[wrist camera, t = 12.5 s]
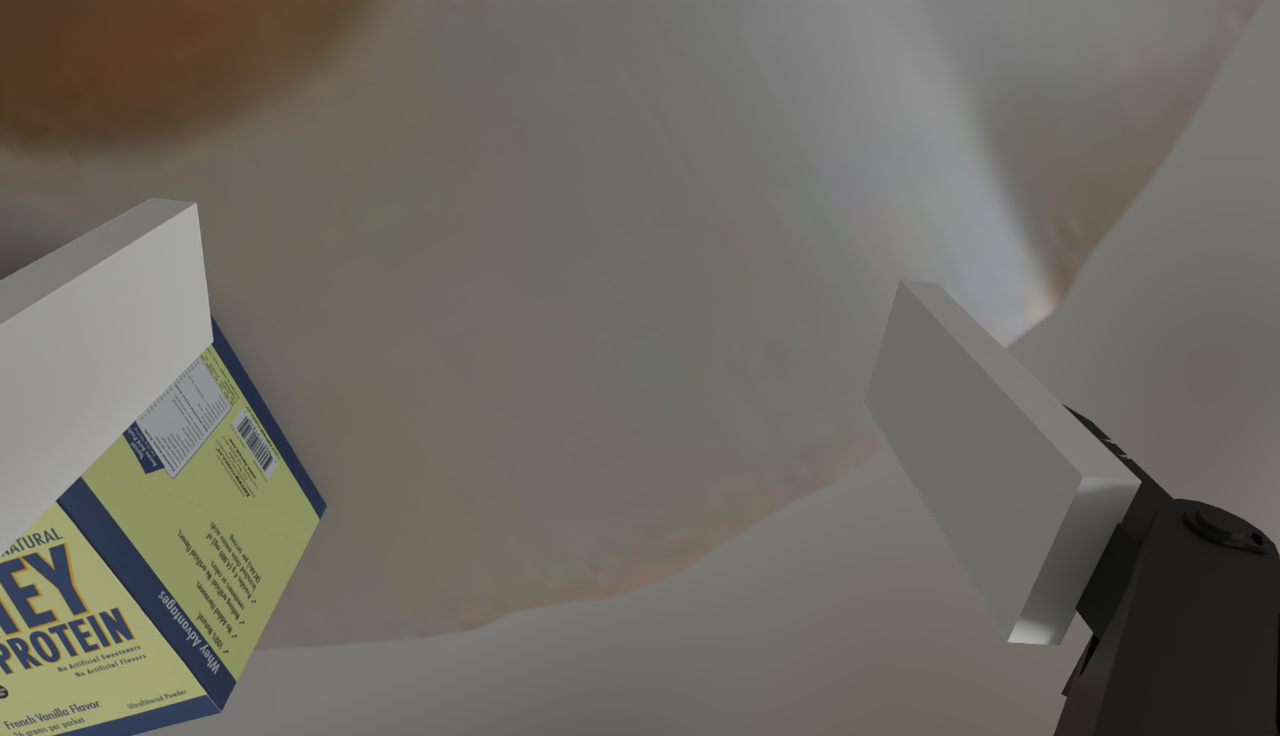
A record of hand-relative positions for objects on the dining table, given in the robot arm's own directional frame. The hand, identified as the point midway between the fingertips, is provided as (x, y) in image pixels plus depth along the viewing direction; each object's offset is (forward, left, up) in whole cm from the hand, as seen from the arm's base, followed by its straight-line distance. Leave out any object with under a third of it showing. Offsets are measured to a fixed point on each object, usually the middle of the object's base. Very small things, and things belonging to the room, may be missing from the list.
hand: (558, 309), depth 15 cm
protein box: (-20, -23, -27) cm, 41 cm away
